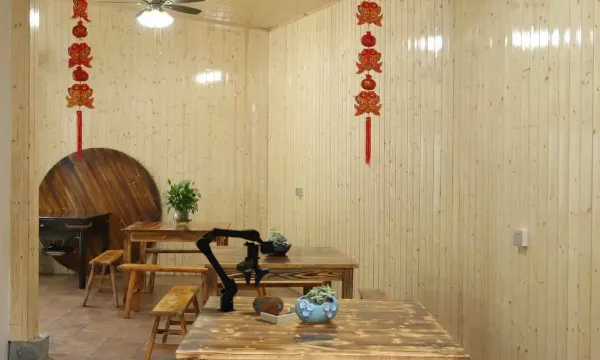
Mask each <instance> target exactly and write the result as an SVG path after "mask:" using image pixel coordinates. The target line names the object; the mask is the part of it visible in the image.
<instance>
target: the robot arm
mask: <svg viewBox="0 0 600 360" xmlns="http://www.w3.org/2000/svg"><path fill="white" fill-rule="evenodd" d="M217 237H222V238H224V237H225V238H234V239H235V238H236V239H243V240H245V242H244V243H243V244H242V246H244V247H246V256H245V257H244V260H243V261H240V262H239V263H237V264H236V267H235V268H236V269H235V270H236V271H238V272H240V273H241V275H243V277H244V280H245V284H246V286H247V287H249V286H250V284H251V280H252V276H253V277H254V287H255V288H258V287H259V285H260V283H261V281H262V279H263V277H264V276H265V275H269V274H270V269H269V268H268V267H266V266H265V267H264V266H261V265H260V264H259V261H260V260H261V256H259V254H261V255H262V256H265V255H266V256H267V255H275V245H274V241H273V240H263V239H262V238H261V234H260V232H259V230H256V229H254V228H250V229H249V228H248V229H247V228H246V229H230V228H229V229H227V228H221V227H219V228H218V227H212V229H210V230H209V231H208V232H206V233H205V234H203V235H202V236H199V237H197V238H196V239H195V242H194V245H195V247H196V248H197V249H198V250H199V251H200V252H201V253H202V254H203V255H204V256H205V258H206V259H207V261H208V262H209V264H210V265H211V267H212V269H213V270H214V272H215V273H216V275H217V276H218V277H219V280H220V282H221V285H222V287H223V288H221V290H219V295H220V297H219V308H217V311H219V312H223V313H228V312H234V311H237V310H236V308H234V298H235V296H236V294H238V291H239V287H238V286H239V284H238V283H236V280H235V279H234V277H233V276H232V275H231V276H228V275H227V273H226V272H225V270H224V268H223V267H222V265H221V264H220V262H219V261H218V260H217V257H216V256H215V254H214V253H213V251H212V247H211V246H210V244H211V243H213V241H215V240H216V238H217ZM249 241H250V242H249ZM253 272H254V273H253ZM252 273H253V274H252Z"/></svg>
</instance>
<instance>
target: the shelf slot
mask: <svg viewBox="0 0 600 360" xmlns="http://www.w3.org/2000/svg"><path fill="white" fill-rule="evenodd" d="M295 307H296V306H293V305H290V306H289V313H287V314H284V315H279V316H277V315H271V314H267V313H263V312H261V313H260V318H259V319H260V320H262V321H266V322H269V323H273V324H276V325H279V324H283V323H287V322H293V321H296V319H297V320H300V319H299V317H298V316H297V314H296V313H295ZM290 312H291V313H290Z"/></svg>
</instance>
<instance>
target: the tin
mask: <svg viewBox="0 0 600 360" xmlns="http://www.w3.org/2000/svg"><path fill="white" fill-rule="evenodd" d="M252 307H253V310H254V311H255V313H257V314H260V313H261V312H263V313H267V314H270V315H274V316H277V315H279V314H280V313H282V312H283V310H284V307H285V303H284V301H283V300H282V298H281V297H279V296H270V295H269V296H268V295H259V296H256V297H255V298H254V300H253V302H252Z"/></svg>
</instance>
